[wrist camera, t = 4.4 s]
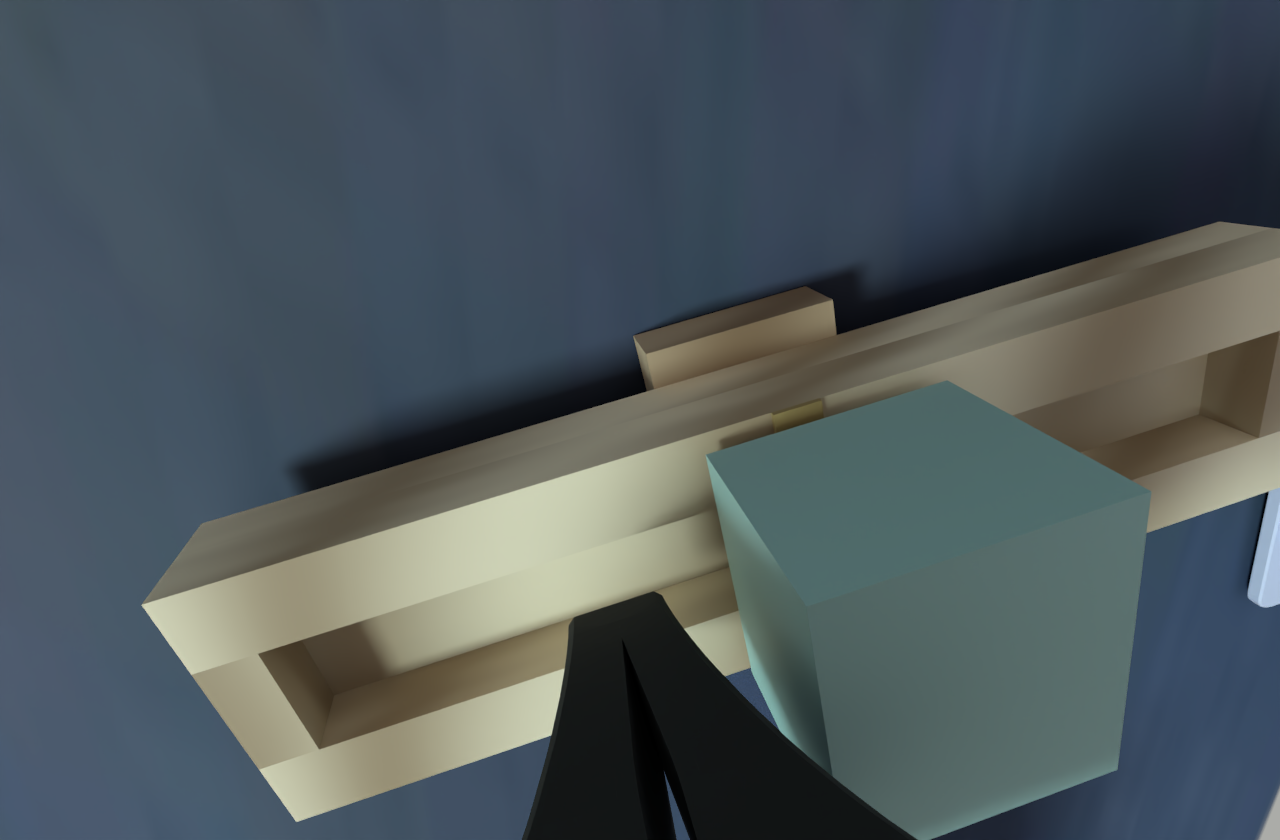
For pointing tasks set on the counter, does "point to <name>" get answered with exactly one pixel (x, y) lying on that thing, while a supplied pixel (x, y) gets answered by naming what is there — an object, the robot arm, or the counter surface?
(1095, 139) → the counter surface
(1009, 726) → the block
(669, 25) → the counter surface
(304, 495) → the beam
